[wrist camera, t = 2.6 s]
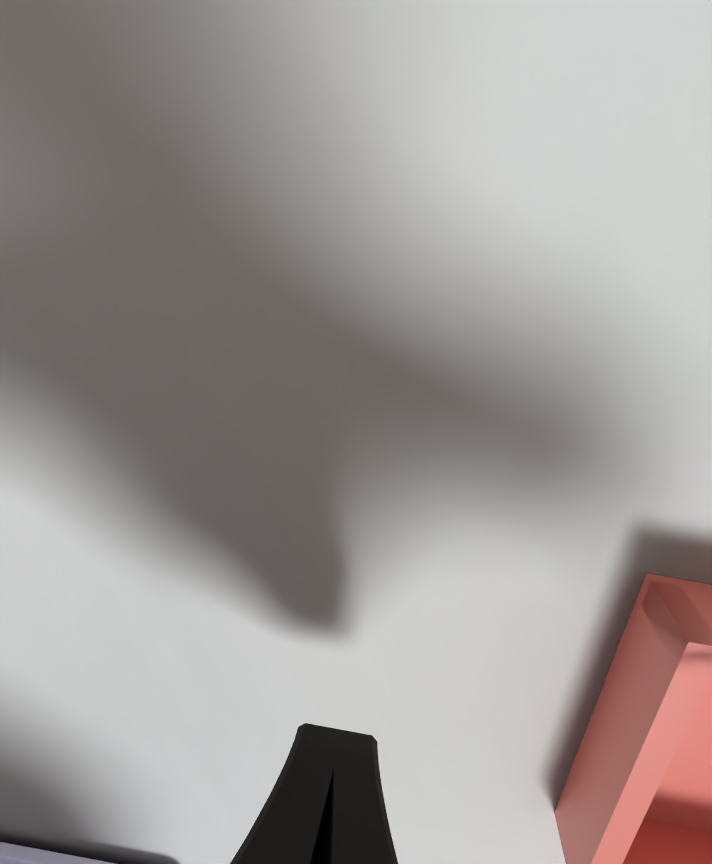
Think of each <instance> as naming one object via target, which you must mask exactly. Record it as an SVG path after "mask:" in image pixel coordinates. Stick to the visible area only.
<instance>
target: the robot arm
mask: <svg viewBox="0 0 712 864" xmlns="http://www.w3.org/2000/svg"><path fill="white" fill-rule="evenodd" d="M0 864H116V863H110V862H105V861H100V860H94V859H89V858H84V857H79V856H73V855H68V854H63V853H57V852H52V851H47V850H41V849H36V848H31V847H26V846H20V845H15V844H10V843H4V842H0ZM230 864H398V862H397V858H396V853H395V849H394V845H393V841H392V837H391V833H390V828H389V823H388V819H387V814H386V808H385V803H384V798H383V792H382V786H381V779H380V772H379V763H378V752H377V741H376V740H375V738H374V737H373V736H372V735H366V734H361V733H356V732H350V731H345V730H339V729H334V728H328V727H323V726H318V725H312V724H307V723H305V724H303V725H301V726H299V727H298V730H297V733H296V737H295V740H294V743H293V745H292V748H291V750H290V753H289V755H288V758H287V760H286V763H285V765H284V767H283V769H282V771H281V773H280V775H279V778H278V780H277V782H276V784H275V786H274V788H273V790H272V792H271V794H270V796H269V798H268V799H267V801H266V803H265V805H264V807H263V808H262V810H261V812H260V814H259V816H258V818H257V819H256V821H255V823H254V825H253V827H252V829H251V830H250V832H249V834H248V836H247V837H246V839H245V841H244V842H243V844H242V846H241V847H240V849H239V850H238V852H237V854H236V855H235V857H234V858H233V860H232V862H231V863H230Z"/></svg>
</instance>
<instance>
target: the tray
mask: <svg viewBox="0 0 712 864" xmlns="http://www.w3.org/2000/svg"><path fill="white" fill-rule="evenodd" d="M554 813H555V818H556V822H557V826H558V831H559V835H560V840H561V844H562V848H563V853H564V857H565V861H566V864H712V585H711V584H706V583H700V582H694V581H688V580H683V579H677V578H671V577H665V576H660V575H654V574H648V573H646V575H645V578H644V580H643V583H642V586H641V588H640V591H639V593H638V596H637V599H636V601H635V604H634V606H633V609H632V612H631V614H630V617H629V619H628V622H627V625H626V627H625V630H624V632H623V635H622V638H621V640H620V643H619V645H618V648H617V651H616V653H615V656H614V658H613V661H612V663H611V666H610V669H609V671H608V674H607V676H606V679H605V682H604V684H603V687H602V689H601V692H600V695H599V697H598V700H597V702H596V705H595V708H594V710H593V713H592V715H591V718H590V721H589V723H588V726H587V728H586V731H585V733H584V736H583V739H582V741H581V744H580V746H579V749H578V752H577V754H576V757H575V759H574V762H573V765H572V767H571V770H570V772H569V775H568V778H567V780H566V783H565V785H564V788H563V791H562V793H561V796H560V798H559V801H558V804H557V806H556V809H555V811H554Z"/></svg>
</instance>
